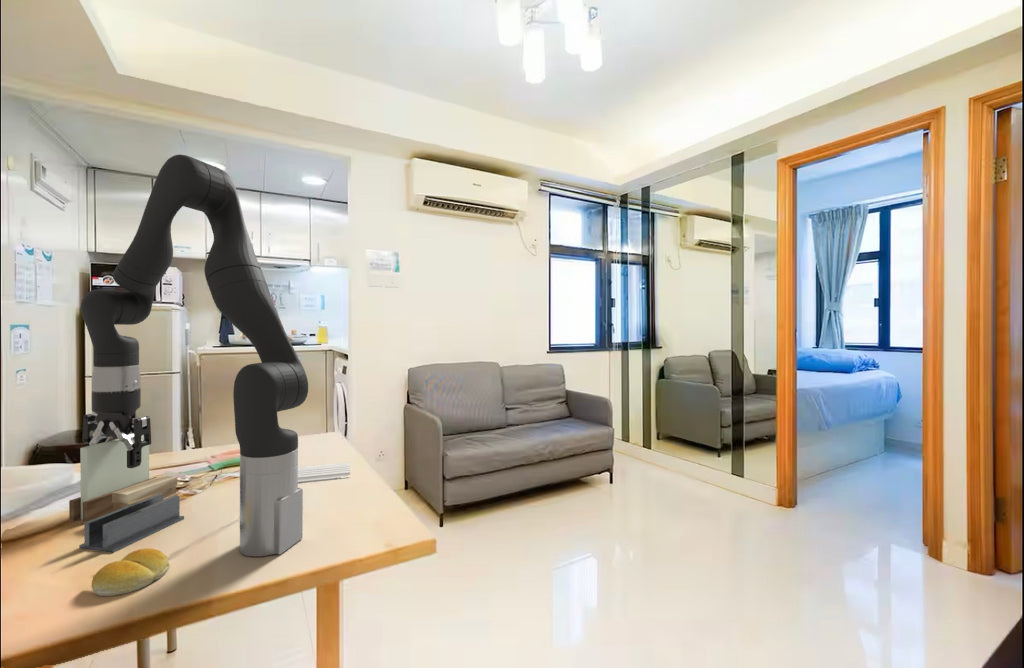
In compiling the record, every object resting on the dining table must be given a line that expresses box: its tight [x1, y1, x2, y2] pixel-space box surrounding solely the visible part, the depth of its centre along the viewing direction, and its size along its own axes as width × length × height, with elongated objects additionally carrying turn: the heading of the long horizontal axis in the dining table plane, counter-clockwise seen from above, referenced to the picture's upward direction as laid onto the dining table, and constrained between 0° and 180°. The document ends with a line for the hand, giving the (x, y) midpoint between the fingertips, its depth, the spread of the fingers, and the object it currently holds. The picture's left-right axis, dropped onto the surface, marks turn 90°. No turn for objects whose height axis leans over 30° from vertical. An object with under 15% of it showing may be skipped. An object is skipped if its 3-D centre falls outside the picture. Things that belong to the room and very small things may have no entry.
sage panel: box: [79, 435, 150, 520], centre depth 90 cm, size 2×12×14 cm, turn 170°
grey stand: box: [78, 494, 185, 554], centre depth 80 cm, size 7×13×6 cm, turn 170°
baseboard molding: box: [210, 461, 351, 487], centre depth 113 cm, size 31×3×12 cm
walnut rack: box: [68, 476, 187, 524], centre depth 90 cm, size 12×14×6 cm
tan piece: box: [112, 474, 178, 511], centre depth 89 cm, size 4×10×5 cm, turn 170°
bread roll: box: [91, 547, 171, 597], centre depth 68 cm, size 8×9×4 cm
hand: (116, 465), depth 90 cm, fingers open, 8 cm apart
